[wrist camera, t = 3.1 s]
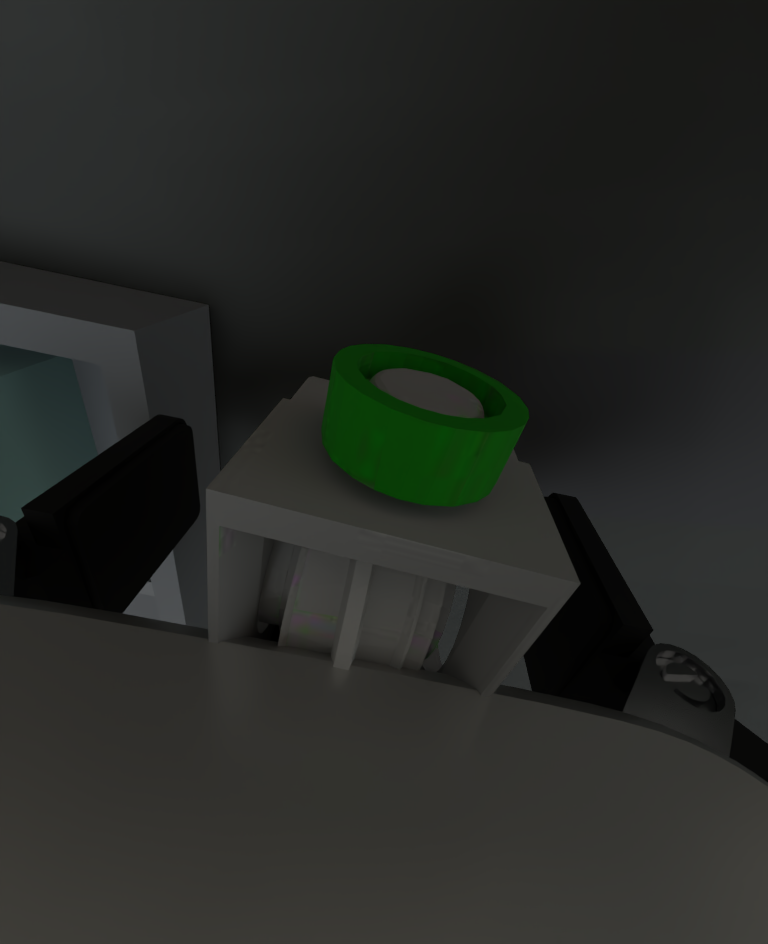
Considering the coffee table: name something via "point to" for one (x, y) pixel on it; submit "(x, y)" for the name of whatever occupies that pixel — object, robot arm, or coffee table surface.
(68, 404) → the housing
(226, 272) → the coffee table surface
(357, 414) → the mechanical component
